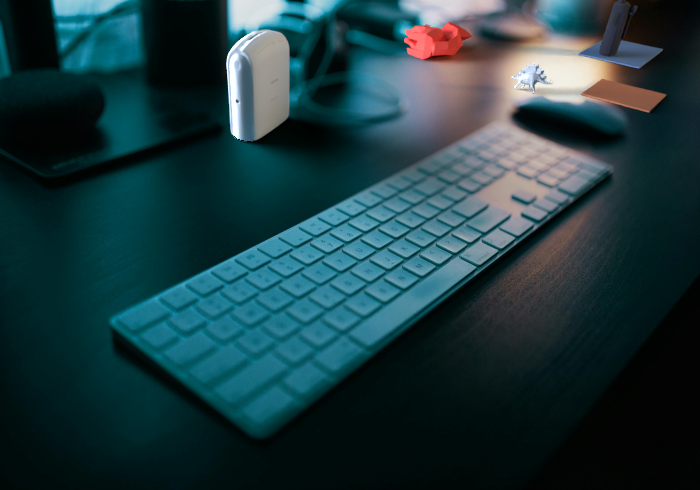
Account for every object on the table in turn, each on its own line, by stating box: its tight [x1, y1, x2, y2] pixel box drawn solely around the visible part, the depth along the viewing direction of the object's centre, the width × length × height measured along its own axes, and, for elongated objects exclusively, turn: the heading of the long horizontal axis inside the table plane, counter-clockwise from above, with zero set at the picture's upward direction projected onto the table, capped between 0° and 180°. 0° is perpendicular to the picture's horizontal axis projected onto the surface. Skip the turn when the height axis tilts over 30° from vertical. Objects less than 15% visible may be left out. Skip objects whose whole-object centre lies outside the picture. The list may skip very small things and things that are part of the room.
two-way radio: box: [599, 0, 639, 57], centre depth 115 cm, size 6×4×15 cm
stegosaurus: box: [511, 63, 554, 94], centre depth 96 cm, size 2×7×5 cm, turn 60°
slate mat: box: [578, 39, 664, 70], centre depth 122 cm, size 12×19×1 cm, turn 143°
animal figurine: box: [404, 21, 473, 60], centre depth 112 cm, size 12×15×5 cm
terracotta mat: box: [580, 78, 667, 114], centre depth 98 cm, size 11×11×1 cm
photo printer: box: [226, 29, 290, 142], centre depth 74 cm, size 10×4×12 cm, turn 157°
